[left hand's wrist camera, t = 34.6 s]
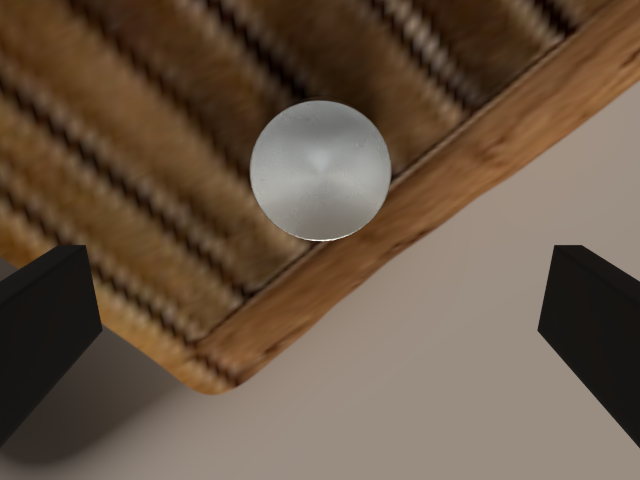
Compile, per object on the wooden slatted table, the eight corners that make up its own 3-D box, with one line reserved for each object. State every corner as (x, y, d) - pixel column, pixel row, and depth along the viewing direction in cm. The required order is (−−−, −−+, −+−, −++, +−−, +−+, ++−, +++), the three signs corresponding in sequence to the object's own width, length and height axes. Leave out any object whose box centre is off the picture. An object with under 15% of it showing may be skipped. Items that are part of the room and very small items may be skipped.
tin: (377, 94, 34) (394, 98, 26) (375, 206, 37) (389, 239, 29) (260, 97, 34) (243, 102, 26) (268, 209, 37) (255, 243, 29)
